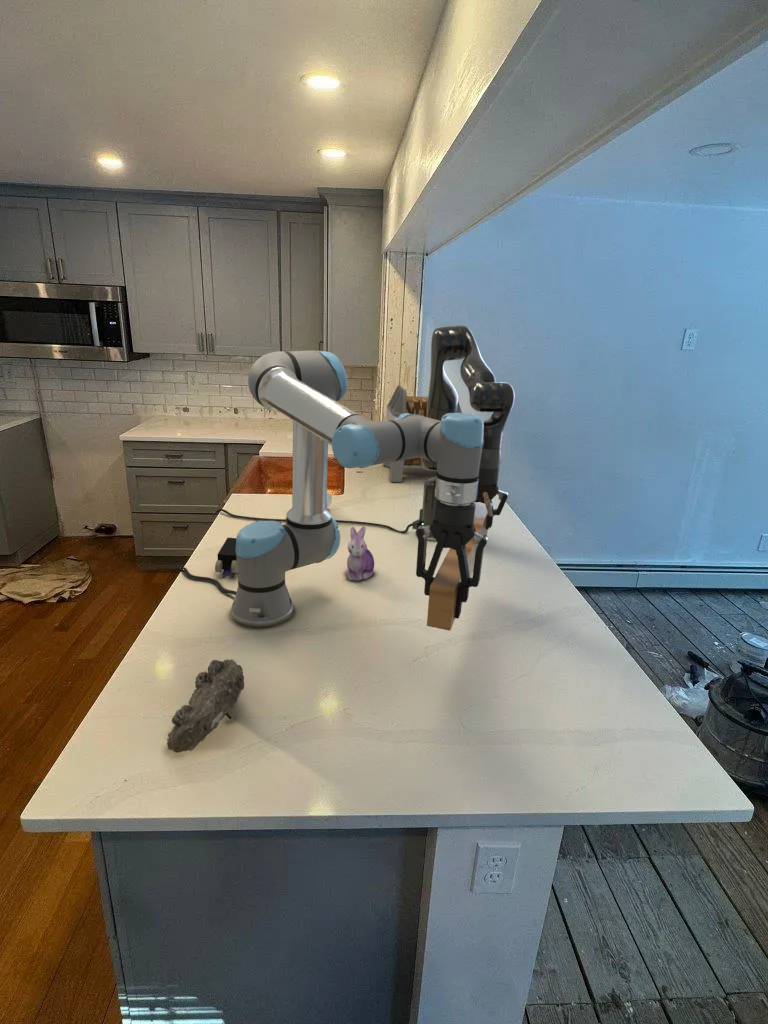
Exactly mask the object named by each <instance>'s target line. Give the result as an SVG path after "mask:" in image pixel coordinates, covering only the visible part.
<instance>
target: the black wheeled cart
mask: <svg viewBox="0 0 768 1024" xmlns="http://www.w3.org/2000/svg"><path fill="white" fill-rule="evenodd" d="M235 549H236V537H226V539H225V541H224V543H223V544H222V546H221V547H220V549H219V551H218V552H217V560H216V562H215V564H214V572H215V573H221V577H222V578H224V577H225V576H226V574H227V573H230V574H231V573H232V574H231V578H234V577H235V575H236V573H237V557H236V550H235Z"/></svg>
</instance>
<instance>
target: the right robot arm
mask: <svg viewBox="0 0 768 1024" xmlns="http://www.w3.org/2000/svg"><path fill="white" fill-rule="evenodd" d="M430 342H431V343H430V347H431V348H430V377H429V387H428V395H427V397H428V402H427V416H426V417H428V418H431V419H435V420H439V421H441V419H442V417H443V416H444V415H445V414H448V413H456V412H457V405H458V402H459V394H458V392H457V390H456V388H455V386H454V384H453V383H452V382H451V380H450V378H449V377H448V374H447V373H446V371H445V363H446V362H448V361H457V360H458V361H459V360H462V362H461V364H460V367H459V373H460V378H461V379H462V381H463V383H464V385H465V386H466V388H467V390H468V395H469V404H470V407H471V408H472V409H473V410H474V411H475V412H479V413H492V414H491V416H490V417H489V418H487V419H484V420H483V419H482V420H483V423H484V429H483V440H484V442H483V446H482V453H481V459H480V466H479V477H478V479H479V481H478V489H477V498H476V500H475V501H474V503H480V504H486V508H487V511H488V516H487V522H486V529H487V530H488V531H489V529H491V528H492V526H493V521H494V516H500V515H501V514H502V511H503V509H504V507H505V504H506V502H507V500H508V497H509V492H508V491H503V490H500V489H499V485H498V483H499V474H500V467H501V458H502V443H503V441H502V440H503V433H504V430H505V427H506V425H507V420H508V418H509V415H510V414H511V411H512V409H513V407H514V403H515V397H516V396H515V395H516V394H515V390H514V388H513V386H512V385H511V384H510V383H509V382H502V381H498V382H497V381H496V376H495V375H494V372H492V370H491V368H490V367H489V366H488V365H487V364H486V362H485V361H484V359H483V356H482V355H481V352H480V349H479V346H478V343H477V342H476V339H475V337H474V335H473V332H472V331H471V330H470V328H469V327H468V326H466V325H459V324H458V325H448V326H439V327H436V328H434V330H433V332H432V335H431V341H430ZM421 462H422V466H421V467H422V468H423V470H426V471H435V472H437V463H436V462H432V461H429V460H426V459H423V458H421ZM436 477H437V475H435V476H432V477H429V478H427V479H425V480H424V482H423V493H422V496H423V497H422V506H421V508H420V509H419V516H418V519H416V520H414V521H412V523H409V524H408V525H406V528H405V530H397V529H396V528H394V527H391V526H389V525H387V524H382V523H375V522H367V521H357V520H342V519H334V520H335V521H336V522H337V523H340V524H341V523H342V524H358V525H364V526H366V525H367V526H374V527H380V528H384V529H385V528H386V529H389V530H390V531H392V532H396V533H399V534H406V533H408V532H409V529H410V528H412V529H413V530H415V531H416V530H417V529H418V527H419V526H420V525H423V526H428V525H430V524H431V523H432V521H433V512H434V501H435V500H436V499H437V498H436V497H435V488H436ZM496 496H498V500H499V503H498V506H497V508H494V503H493V499H494V498H495V497H496ZM219 512H223V513H224V514H226V515H228V516H230V517H232V518H238V519H243V520H244V519H245V520H252V521H268V520H273V521H278V522H280V523H283V522H284V523H286V518H265V517H254V516H245V515H237V514H233V513H231V512H229V511H228V510H226V509H223V508H219V509H217V510H216V511H215V514H218V513H219ZM427 541H432V542H437V541H436V539H435V538H434V536H433V535H432V533H431V532H429V536H428V537H427Z"/></svg>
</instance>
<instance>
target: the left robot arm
mask: <svg viewBox="0 0 768 1024" xmlns="http://www.w3.org/2000/svg"><path fill="white" fill-rule="evenodd" d="M247 384H248V389H249V392H250V395H251V396H252V397H253V399H254V400H255V401H256V403H258V404H259V405H261V406H262V408H265V409H266V410H267V411H270V412H272V413H273V412H274V413H279V412H280V413H281V414H283V415H284V416H286V417H287V418H289V419H290V420H292V485H291V487H292V488H291V489H292V490H291V493H292V494H291V495H292V497H291V508H290V509H289V510H288V511H287V512H286V514H285V519H286V522H285V523H284V524H282V522H281V521H273V520H268V521H262V520H257V521H254V522H251V523H249V524H247V525H245V526H244V527H242V528H241V529H240V530H239V531H238V533H237V535H236V537H235V538H236V549H235V550H236V557H237V572H236V573H237V574H236V575H237V589H236V590H232V589H227V588H225V587H224V586H222V584H221V583H220V582H219V580H217V579H215V578H212V577H208V576H199V575H195V574H191V573H190V572H189V570H188V569H187V567H185V566H182V567H181V568H180V570H179V571H180V572H184V574H185V575H186V576H187V577H188V578H190V579H193V580H197V581H198V580H199V581H206V582H211V583H213V584H215V585H216V587H217V588H218V589H219V590H220V591H221V592H222V593H225V594H230V595H234V600H233V602H232V605H231V617H232V619H233V620H234V622H236V623H237V624H240V625H242V626H245V627H250V628H269V627H274V626H278V625H280V624H282V623H284V622H287V620H289V619H290V618H291V617H292V615H293V612H294V604H293V600H292V597H291V595H290V592H289V590H288V587H287V583H286V572H289V571H291V570H292V571H293V570H296V569H299V568H302V567H307V566H309V565H314V564H321V563H322V562H324V561H326V560H329V559H331V558H333V557H334V556H335V555H336V554H337V552H338V550H339V548H340V544H341V532H340V529H339V524H338V522H336V521H335V520H336V519H335V518H334V517H332V512H331V511H330V510H327V509H326V493H327V494H328V462H329V461H328V458H329V457H328V456H329V445H330V446H331V450H332V454H333V456H334V458H335V459H337V463H338V465H340V466H341V467H343V468H345V469H365V468H369V467H371V466H378V465H382V464H383V463H389V462H395V461H401V460H407V459H413V458H423V459H426V460H429V461H432V462H436V463H437V471H436V476H437V477H436V488H435V497H436V498H437V499H436V500H435V501H434V512H433V521H432V523H431V524H430V525H428V526H423V525H420V526H419V527H418V529H417V530H416V529H415V535H416V538H417V554H416V566H415V567H416V569H415V575H416V577H418V578H421V579H423V580H424V588H423V589H424V590H423V593H424V595H425V596H428V597H429V593H430V585H431V583H432V582H433V580H434V578H435V573H436V570H437V567H438V564H439V561H440V558H441V555H442V552H443V550H444V549H450V548H452V549H454V550H456V554H457V556H458V563H459V570H460V576H461V582H460V584H459V586H458V591H457V601H456V610H455V619H457V620H458V619H460V616H461V613H462V606H463V603H467V601H468V598H469V595H470V594H469V593H470V588H471V587H472V588H477V587H478V586H479V584H480V581H481V575H482V566H483V558H484V549H485V548H486V546H487V544H488V541H489V535H488V534H487V535H483V536H482V535H481V534H479V533H477V532H476V530H475V528H474V516H475V507H476V504H475V503H476V502H474V501H475V500H476V498H477V489H478V481H479V479H478V477H479V466H480V459H481V453H482V446H483V442H484V440H483V429H484V423H483V418H481V417H480V416H479V415H476V414H471V413H464V412H462V413H448V414H445V415H444V416H443V417H442V419H441V421H439V420H435V419H431V418H428V417H424V416H421V415H419V414H409V413H404V414H401V415H399V416H398V417H397V418H395V419H394V420H386V419H385V420H378V421H377V420H376V421H374V420H370V419H369V418H367V417H364V416H363V415H361V414H359V413H357V412H355V411H354V410H352V409H350V408H348V407H346V406H345V405H343V404H341V403H339V401H340V400H342V399H343V398H344V397H345V395H346V393H347V389H348V378H347V373H346V370H345V367H344V365H343V364H342V362H341V360H340V358H338V356H337V355H336V354H334V353H332V352H330V351H326V350H325V351H324V350H293V351H282V350H281V351H272V352H268V353H265V354H263V355H262V356H261V357H259V358H258V359H257V360H256V361H255V362H254V363H253V364H252V366H251V368H250V371H249V373H248V378H247ZM383 465H384V464H383ZM429 532H431V533H432V535H433V536H434V538H435V539H436V541H435V542H436V545H435V547H434V551H433V554H432V557H431V560H430V562H429V565H428V568H427V569H426V563H427V562H426V561H427V547H428V540H427V537H428V536H429ZM472 538H473V539H474V540H475V542H474V544H475V545H476V546H477V548H476V552H475V561H474V569H473V573H472V576H471V578H470V575H469V568H468V561H467V554H466V544H467V543H468V542H469V541H470V540H471V539H472ZM183 569H184V570H183ZM427 604H428V605H429V603H427ZM428 605H427V606H428Z"/></svg>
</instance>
